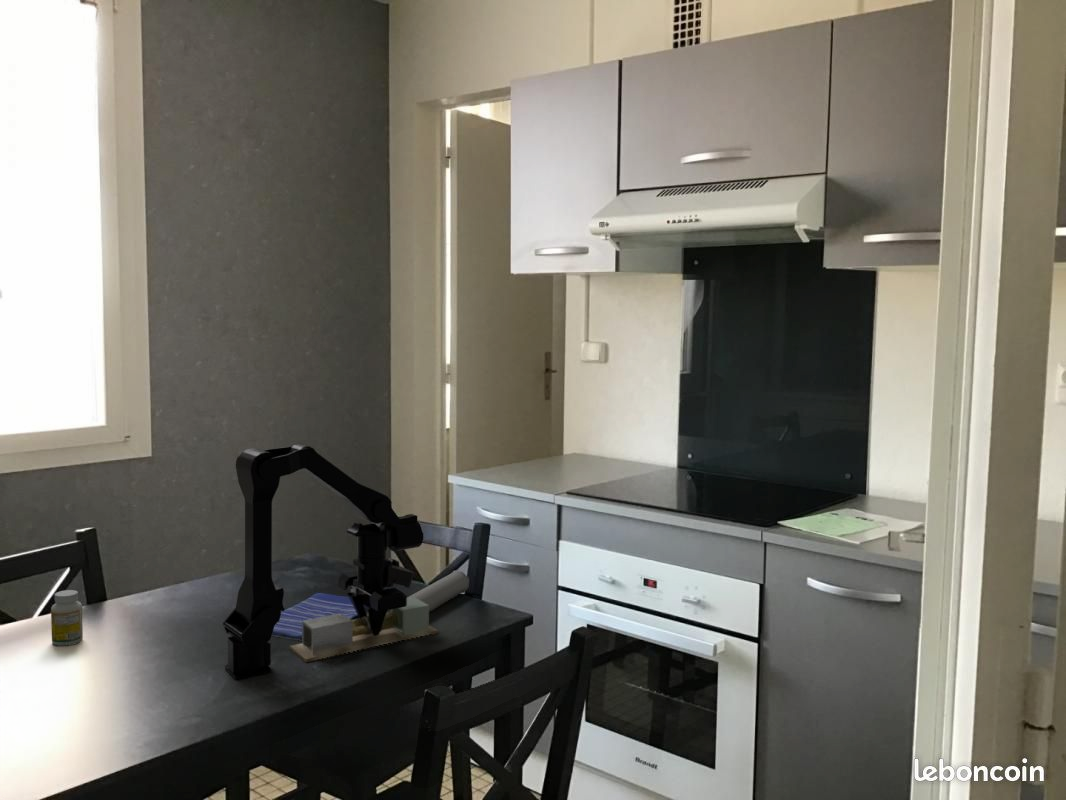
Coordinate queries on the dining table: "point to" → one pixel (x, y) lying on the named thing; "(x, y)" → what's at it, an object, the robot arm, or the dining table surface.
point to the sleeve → (327, 633)
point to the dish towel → (311, 614)
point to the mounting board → (359, 643)
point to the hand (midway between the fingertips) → (371, 632)
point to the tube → (443, 590)
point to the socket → (412, 617)
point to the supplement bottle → (66, 619)
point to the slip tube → (363, 626)
